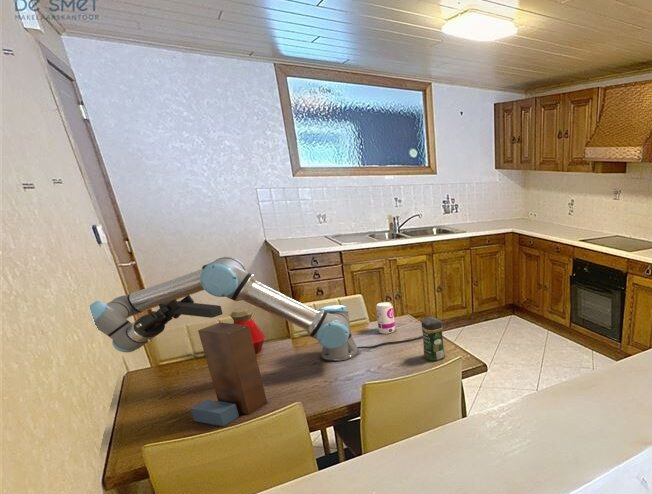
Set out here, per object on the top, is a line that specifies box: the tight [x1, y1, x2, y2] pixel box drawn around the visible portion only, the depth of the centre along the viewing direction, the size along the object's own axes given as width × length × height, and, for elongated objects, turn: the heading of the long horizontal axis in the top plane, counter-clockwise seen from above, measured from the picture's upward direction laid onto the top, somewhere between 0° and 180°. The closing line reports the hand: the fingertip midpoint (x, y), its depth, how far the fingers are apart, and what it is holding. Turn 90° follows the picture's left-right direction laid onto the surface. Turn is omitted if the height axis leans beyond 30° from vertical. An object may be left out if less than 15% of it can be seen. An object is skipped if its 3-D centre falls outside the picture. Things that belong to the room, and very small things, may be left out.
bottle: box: [229, 307, 266, 354], centre depth 194 cm, size 16×14×20 cm
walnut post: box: [197, 322, 268, 415], centre depth 147 cm, size 12×8×30 cm, turn 77°
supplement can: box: [375, 301, 396, 335], centre depth 220 cm, size 8×8×15 cm
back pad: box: [158, 300, 223, 319], centre depth 142 cm, size 21×4×3 cm, turn 77°
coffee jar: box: [421, 316, 445, 362], centre depth 191 cm, size 10×8×19 cm
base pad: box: [190, 399, 240, 427], centre depth 144 cm, size 12×6×5 cm, turn 77°
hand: (183, 300), depth 141 cm, fingers closed on back pad, 4 cm apart
